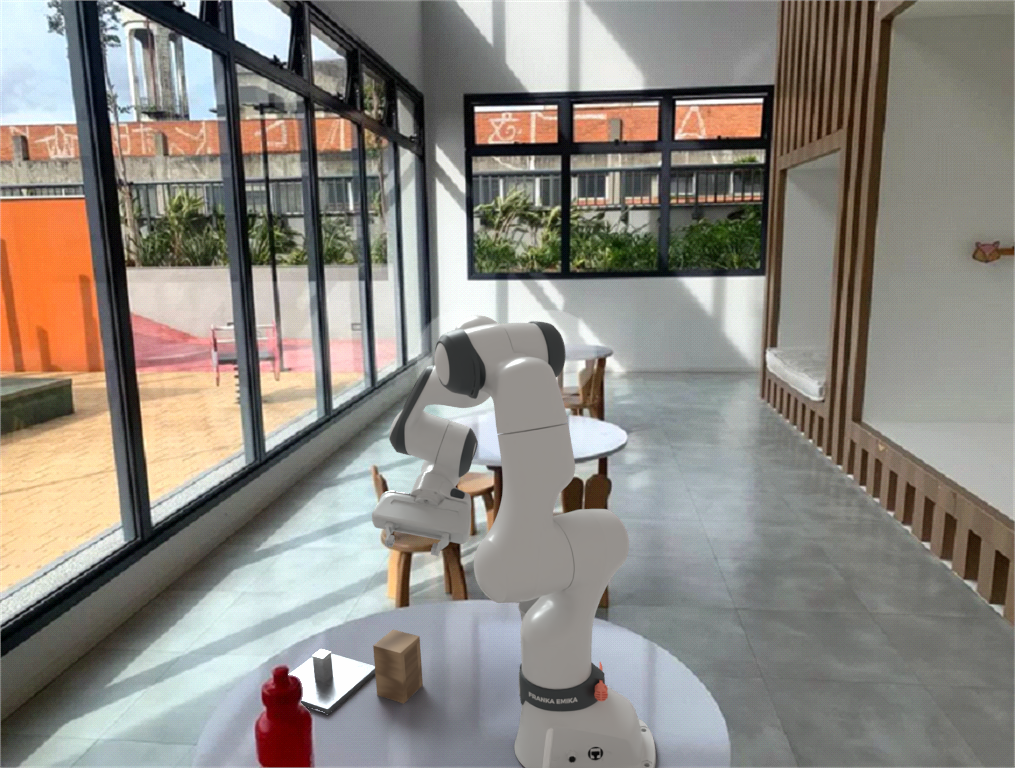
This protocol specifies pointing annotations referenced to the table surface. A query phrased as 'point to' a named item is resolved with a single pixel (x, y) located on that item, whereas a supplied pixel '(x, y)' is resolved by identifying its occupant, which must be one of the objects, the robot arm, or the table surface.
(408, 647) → the brown wooden block
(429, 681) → the table surface
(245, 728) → the table surface
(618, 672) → the table surface
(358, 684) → the metal square peg base
